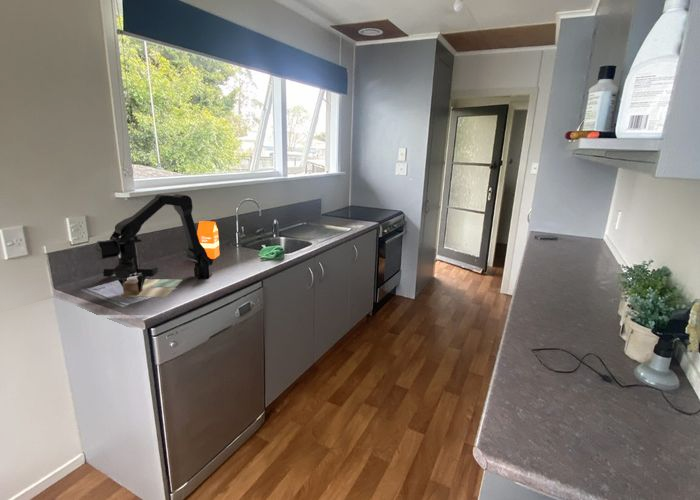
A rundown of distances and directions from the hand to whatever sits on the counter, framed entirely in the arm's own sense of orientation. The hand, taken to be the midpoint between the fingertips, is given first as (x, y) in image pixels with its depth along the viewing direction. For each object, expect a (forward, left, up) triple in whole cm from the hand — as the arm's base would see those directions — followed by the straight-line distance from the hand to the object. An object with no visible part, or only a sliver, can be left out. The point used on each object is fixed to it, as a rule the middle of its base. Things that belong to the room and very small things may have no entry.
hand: (133, 291), depth 150 cm
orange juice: (-15, -56, -2) cm, 58 cm away
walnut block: (0, 0, -1) cm, 1 cm away
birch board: (-5, -6, -2) cm, 8 cm away
